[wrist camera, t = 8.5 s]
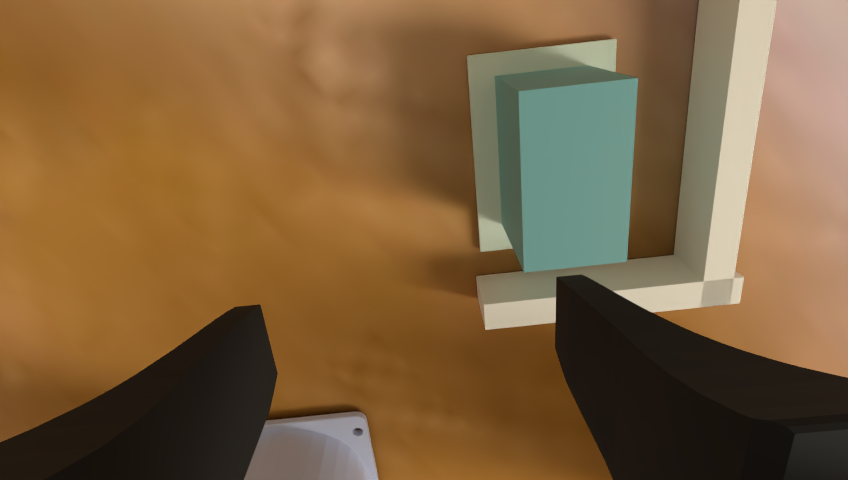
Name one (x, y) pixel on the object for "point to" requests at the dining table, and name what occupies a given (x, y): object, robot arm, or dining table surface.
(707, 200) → the corner walls
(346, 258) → the dining table surface
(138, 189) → the dining table surface
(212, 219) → the dining table surface
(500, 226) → the pad
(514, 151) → the teal brick
